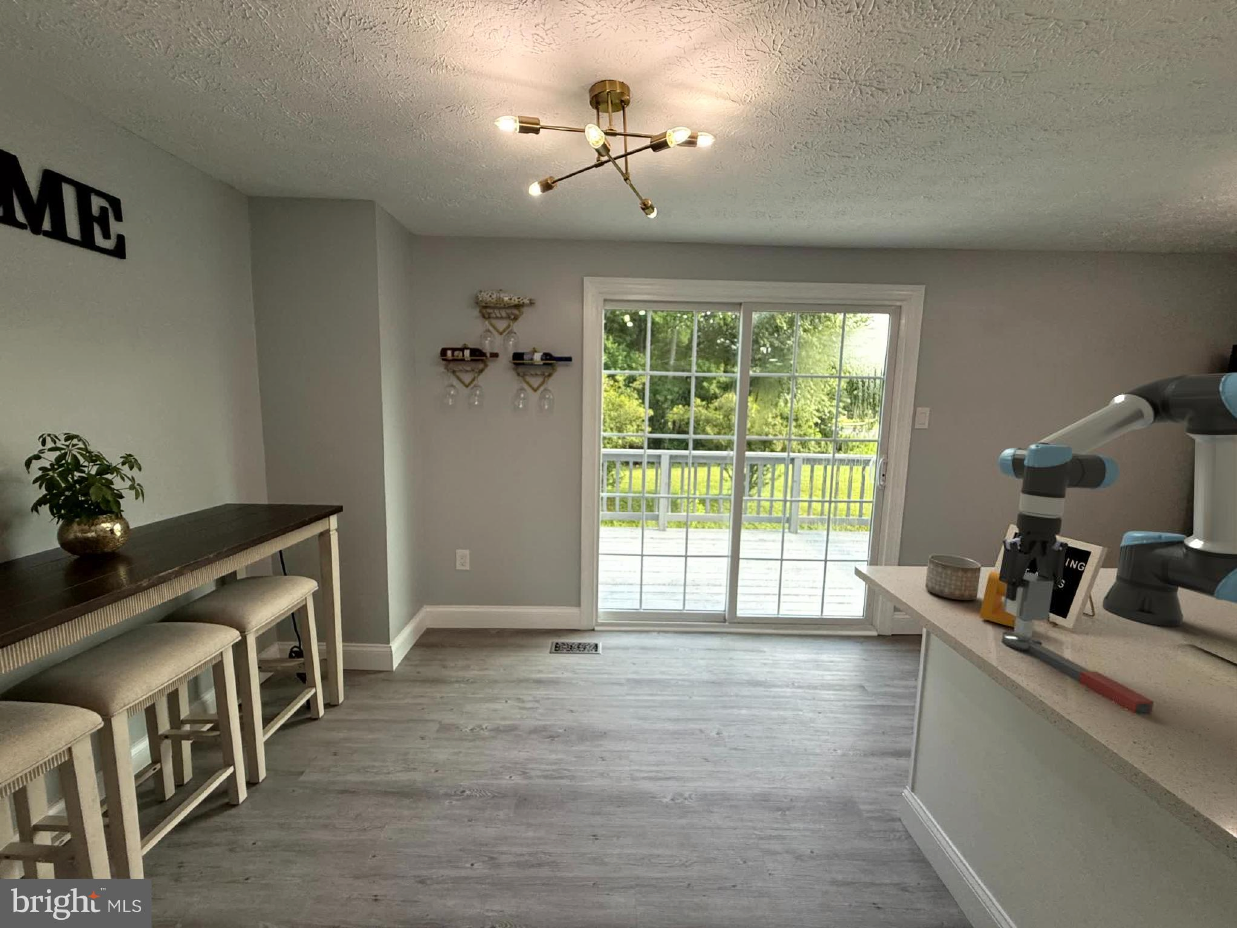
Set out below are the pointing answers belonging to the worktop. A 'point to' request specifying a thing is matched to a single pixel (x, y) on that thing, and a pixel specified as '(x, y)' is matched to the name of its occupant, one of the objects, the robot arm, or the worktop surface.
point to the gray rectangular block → (1034, 597)
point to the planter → (953, 576)
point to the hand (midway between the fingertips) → (1025, 613)
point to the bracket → (995, 602)
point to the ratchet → (1074, 669)
